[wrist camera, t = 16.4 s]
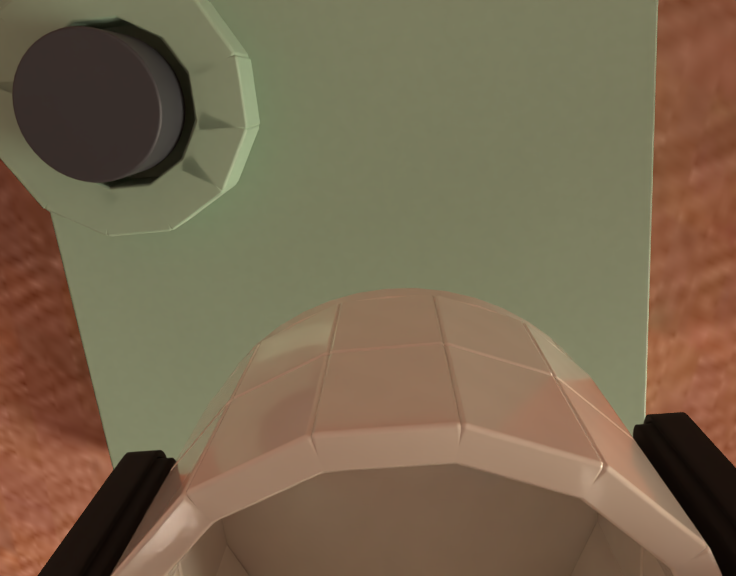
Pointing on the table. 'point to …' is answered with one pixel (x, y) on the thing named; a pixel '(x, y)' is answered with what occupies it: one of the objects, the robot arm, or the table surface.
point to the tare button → (97, 103)
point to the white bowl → (412, 458)
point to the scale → (356, 183)
